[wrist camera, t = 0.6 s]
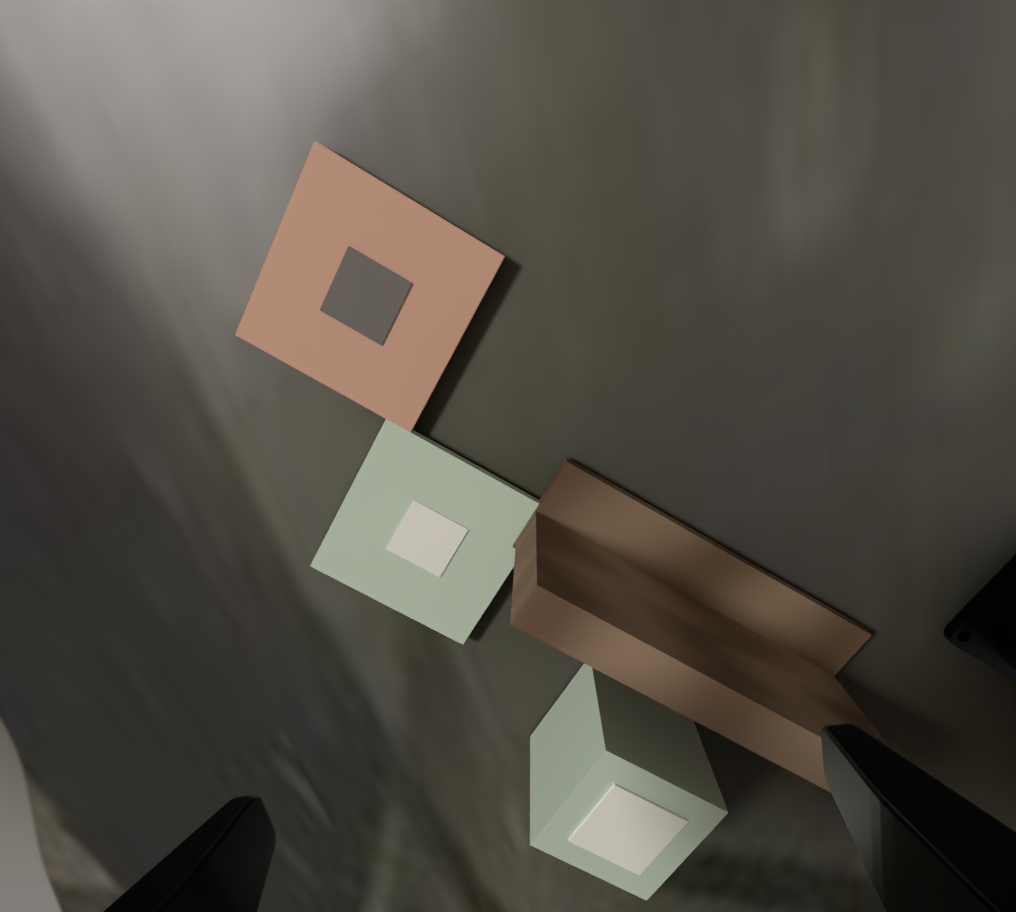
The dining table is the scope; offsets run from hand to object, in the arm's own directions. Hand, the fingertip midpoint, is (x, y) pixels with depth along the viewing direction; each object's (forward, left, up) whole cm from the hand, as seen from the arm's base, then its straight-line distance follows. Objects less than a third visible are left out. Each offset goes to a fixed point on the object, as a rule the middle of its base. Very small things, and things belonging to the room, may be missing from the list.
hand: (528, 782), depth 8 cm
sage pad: (+3, +4, -13) cm, 14 cm away
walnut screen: (-7, +1, -13) cm, 15 cm away
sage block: (-8, +8, -13) cm, 17 cm away
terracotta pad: (+9, -3, -13) cm, 16 cm away
